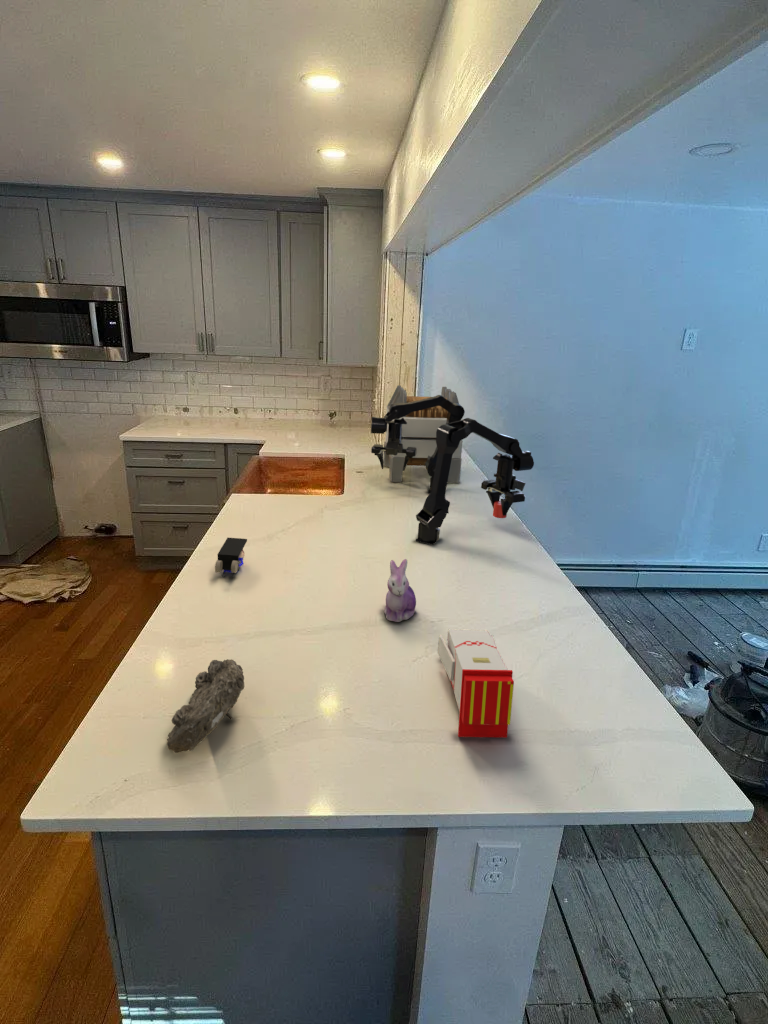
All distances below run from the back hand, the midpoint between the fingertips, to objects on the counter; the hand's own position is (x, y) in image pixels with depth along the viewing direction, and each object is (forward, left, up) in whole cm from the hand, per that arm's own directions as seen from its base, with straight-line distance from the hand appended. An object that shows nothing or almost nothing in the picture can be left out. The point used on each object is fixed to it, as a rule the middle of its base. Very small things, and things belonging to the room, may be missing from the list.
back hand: (393, 469), depth 243 cm
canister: (+34, +45, -4) cm, 57 cm away
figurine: (+103, +19, -10) cm, 105 cm away
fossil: (+150, -10, -10) cm, 151 cm away
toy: (+131, +38, -10) cm, 137 cm away
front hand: (+34, +45, -3) cm, 56 cm away
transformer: (-32, +8, -10) cm, 35 cm away
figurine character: (+90, -33, -10) cm, 96 cm away
